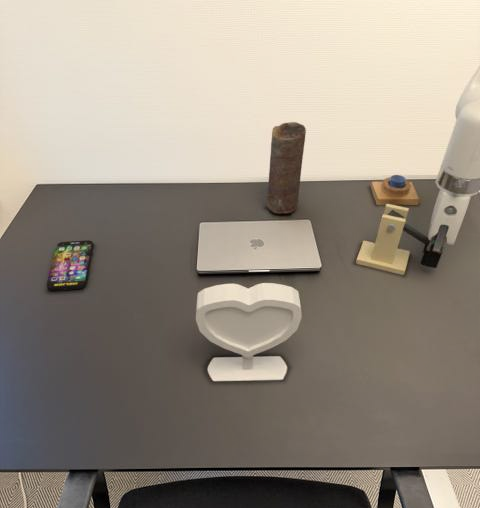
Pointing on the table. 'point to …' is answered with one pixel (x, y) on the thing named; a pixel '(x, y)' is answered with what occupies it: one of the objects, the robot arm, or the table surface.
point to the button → (397, 181)
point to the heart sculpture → (248, 327)
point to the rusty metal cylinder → (285, 167)
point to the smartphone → (70, 265)
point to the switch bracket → (386, 244)
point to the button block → (394, 193)
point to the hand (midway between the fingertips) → (429, 259)
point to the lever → (412, 230)
